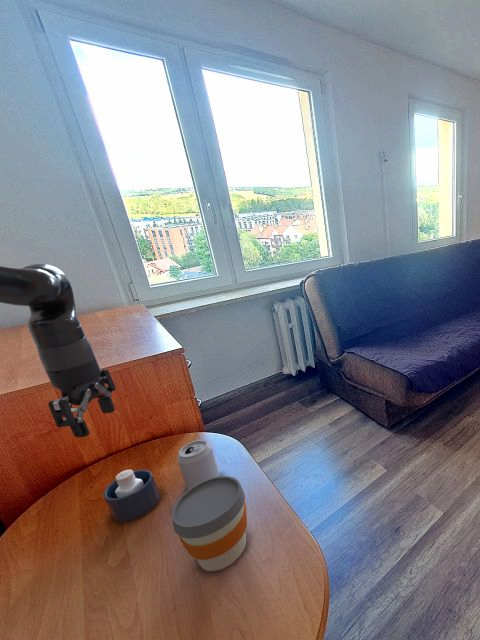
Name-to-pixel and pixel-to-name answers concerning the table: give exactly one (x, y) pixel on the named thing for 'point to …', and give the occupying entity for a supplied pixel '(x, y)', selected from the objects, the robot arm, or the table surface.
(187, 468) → the can
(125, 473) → the salt shaker
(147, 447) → the table surface
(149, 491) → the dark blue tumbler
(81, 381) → the robot arm
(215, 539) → the reusable coffee cup
